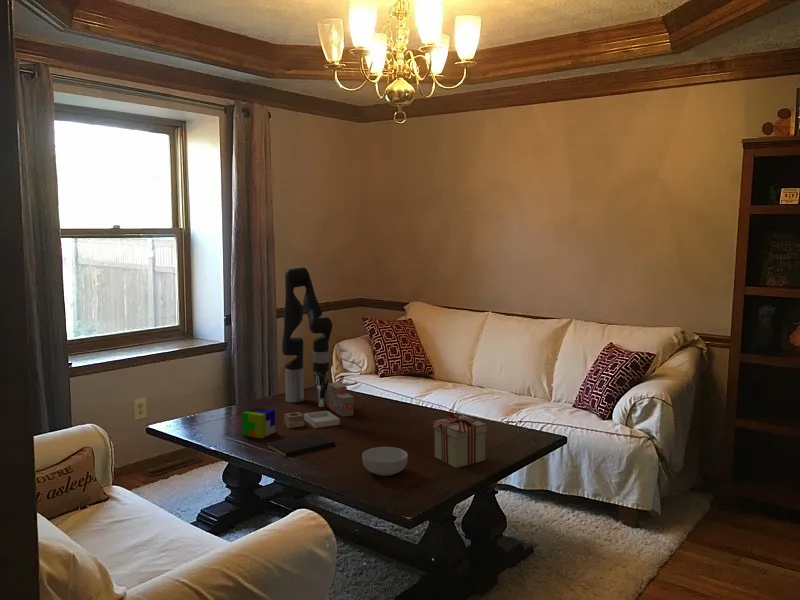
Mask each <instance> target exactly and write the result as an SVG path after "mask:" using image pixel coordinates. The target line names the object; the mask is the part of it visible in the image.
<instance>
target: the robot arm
mask: <svg viewBox="0 0 800 600" xmlns="http://www.w3.org/2000/svg"><path fill="white" fill-rule="evenodd" d="M284 275H285V276H284V285H285V286H284V287H285V291H284V292H285V302H284V303H285V304H284V312H283V314H284V315H283V317H284V318H283V325H284V326H283V334H282V340H281V341H282V342H281V351H282V354H283V355H284V356H286V357H287V356H295V357H294V358H293V359H292V360H288V361H287V362H286V363H285V364H284V369H285V371H284V372H285V379H284V381H285V402H287V403H300V402H303V401H304V339H303V338H302V337H291V336H292V334H293V332H295V331H296V330H297V328H298V327H299V326H300V325H301V323H302V322H303V316H304V310H305V313H306V314H307V319H308V328H309V331H310V332H311V333H312V334H321V335H320V336H319V337H317V338H314V339H313V343H312V348H313V349H312V371H313V372H314V374H313V379H314V385H315V387H316V389H317V390H318V383H319V386H320V398H321V399H323V398H324V399H325V398H326V391H327V387H328V383H329V382H330V381H329V378H327V373H328V372H329V371H330V354H329V353H330V351H329V342H330V338H331V334H332V329H333V322H332V319H330V318H329V317H321V316H322V315H323V310H322V308H321V305H320V304H319V301H318V299H317V296H316V292H315V289H314V285H313V282H312V279H311V275H310V273H309V270H308V269H307V268H305V267H295V268H289V269H287V270H286V272H285V274H284ZM300 287H305V293H304V297H303V302H302V303H301V301H300V300H299V299H298V297H297V296H296V295H295V291H294V289H295V288H300ZM321 383H322V384H321Z"/></svg>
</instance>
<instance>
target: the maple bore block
mask: <svg viewBox="0 0 800 600" xmlns="http://www.w3.org/2000/svg"><path fill="white" fill-rule="evenodd" d="M283 415H284V416H283V417H284V419H283V420H284V423H283V424H284V425H285V426H286V427H288V429H291V428H299V427H304V426H305V420H304V414H303V413H301V411H295V412H288V413H283Z"/></svg>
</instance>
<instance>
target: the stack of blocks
mask: <svg viewBox="0 0 800 600" xmlns="http://www.w3.org/2000/svg"><path fill="white" fill-rule="evenodd" d="M347 390H348V388H347V386H346V385H345V384H342V383H341V382H338V381H337V382H336V381H335V382H334V381H333V382H328V387H327V390H326V406H327V408H329V409H330V410H331V411H333V412H334V413H336V414H338V415H339V416H340V417H351V416H354V403H355V402H354V401H355V400H354V399H355V398H354V396H353V395H352V394H350V393H348V391H347Z"/></svg>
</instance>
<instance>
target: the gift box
mask: <svg viewBox="0 0 800 600" xmlns="http://www.w3.org/2000/svg"><path fill="white" fill-rule="evenodd" d="M445 415H446V418H442V419H437V420H433V430H434V458H435V459H437V460H440V461H441V462H443V463H445V464H448V465H449V466H451V467H454V468H456V469H458V468H460V467H461V468H462V467H464V466H469V465H473V464H477V463H482V462H484V461H485V462H486V433H487V424H486V423H485V422H482V421H480V420H477V419H475V418H471V417H469V416H466V415H464V414H461V415H457V414H454V413H448V412H447V413H446V414H445ZM447 416H449V417H447Z"/></svg>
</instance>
